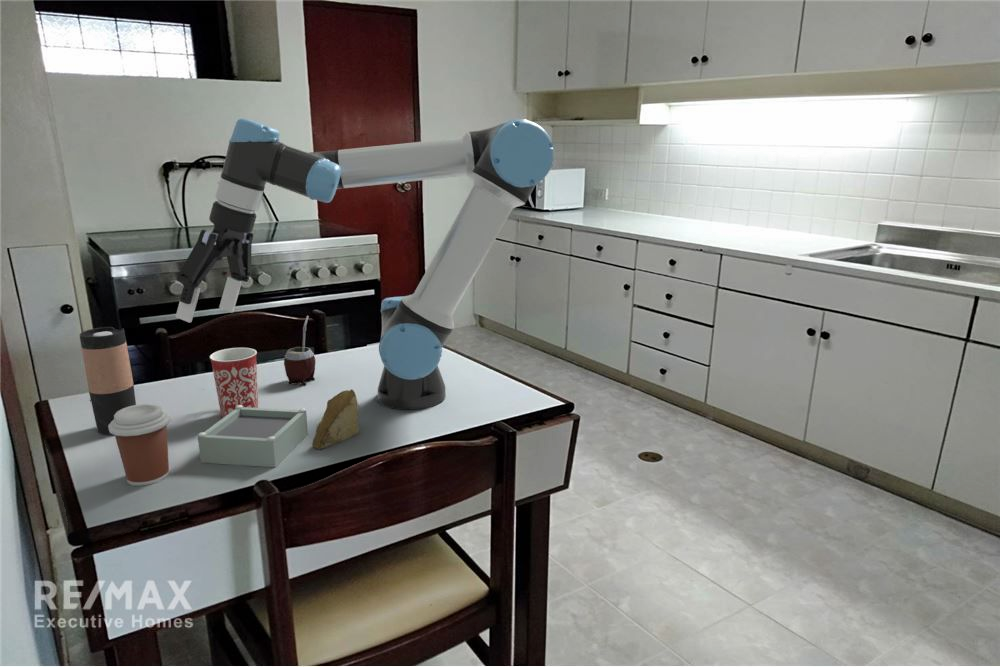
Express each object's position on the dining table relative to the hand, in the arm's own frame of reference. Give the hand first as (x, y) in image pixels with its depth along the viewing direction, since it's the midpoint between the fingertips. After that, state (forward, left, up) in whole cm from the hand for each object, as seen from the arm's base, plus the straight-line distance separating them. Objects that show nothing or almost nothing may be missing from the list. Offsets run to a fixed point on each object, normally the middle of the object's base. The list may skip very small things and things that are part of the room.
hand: (205, 314), depth 124 cm
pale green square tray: (-11, +6, -24) cm, 27 cm away
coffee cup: (+2, +19, -24) cm, 31 cm away
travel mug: (+21, +1, -24) cm, 32 cm away
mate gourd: (-4, -30, -24) cm, 39 cm away
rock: (-24, 0, -24) cm, 34 cm away
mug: (+1, -10, -24) cm, 26 cm away
